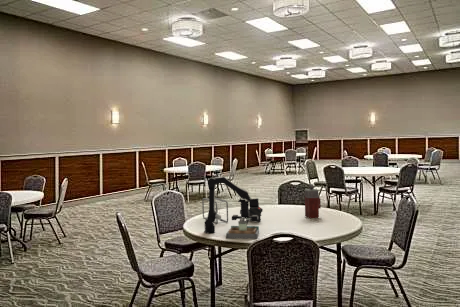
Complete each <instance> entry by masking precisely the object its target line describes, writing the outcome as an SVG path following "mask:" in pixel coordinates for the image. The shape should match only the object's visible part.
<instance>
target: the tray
mask: <svg viewBox="0 0 460 307" xmlns="http://www.w3.org/2000/svg"><path fill="white" fill-rule="evenodd" d="M257 230H259V231H260V227H259V226H258V225H254V226H253V225H247V231H239V225H231V226H230V230H229V229H228V231H229V233H237V234H256V232H257Z"/></svg>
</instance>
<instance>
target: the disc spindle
mask: <svg viewBox="0 0 460 307" xmlns="http://www.w3.org/2000/svg"><path fill="white" fill-rule="evenodd" d="M237 223H238V226H239V231H247V226H248V224H247V221H246V220H245V221H240V220H239V221H238V222H237Z"/></svg>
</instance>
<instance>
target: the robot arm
mask: <svg viewBox="0 0 460 307" xmlns="http://www.w3.org/2000/svg"><path fill="white" fill-rule="evenodd" d="M218 184H224V185H226V186H227V187H228V188H229V189H231V190H233V191H234V192H235V193H236V194H237V195H238V196H239V197H240V198H239V199H238V201H237V202H238V203H240V211H239V214H233V215H231V221H237V220H238V219H239V221H247V225H248V223H249V222H251V221H250V219H252V220H258V215H253V216H249V208H250V207H251V208H259V207H260V203H259V198H251V196H250V195H249V191H247V190H246V189H244V188H241V187H239V186H238V185H236V184H235V183H233V182H232V181H231V180H229V179H228V178H227V177H225V176H222V177H210V178H208V180H207V188H208V191H209V193H208V194H209V196H208V199H209V201H208V204H209V205H208V207H209V208H208V213H207V220H206V219H205V221H204V231H203V232H204V233H205V234H213V233H216V232H215V231H216V229H215V228H216V226H215V223H213V222H216V218H217V214H218V212H217V211H216V210H215V209H216V203H215V201H216V199H215V198H216V196H215V195H216V193H215V192H216V191H215V190H216V187H217V185H218ZM215 211H216V212H215Z"/></svg>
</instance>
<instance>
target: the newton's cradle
mask: <svg viewBox="0 0 460 307" xmlns="http://www.w3.org/2000/svg"><path fill="white" fill-rule="evenodd" d="M204 201H208V202H209V197H203V198H202V199H201V202H202V203H201V204H202V206H201V207H202V218H203V219H204V220H205V221H206V220H207V217H208V216H207V217H205V207H204V206H205V203H204ZM220 202H222V203H225V204H226V220H225V219H223V218H222V215H220V211H219V209H218V206H219V207H221V204H220ZM216 211H217V218H216V219H215V221H214V222H213V224H214V225H217V224H224V223H229V203H228V201H227V200H225V199H221V198H218V197H215V212H216ZM218 211H219V212H218ZM219 221H220V222H219Z"/></svg>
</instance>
